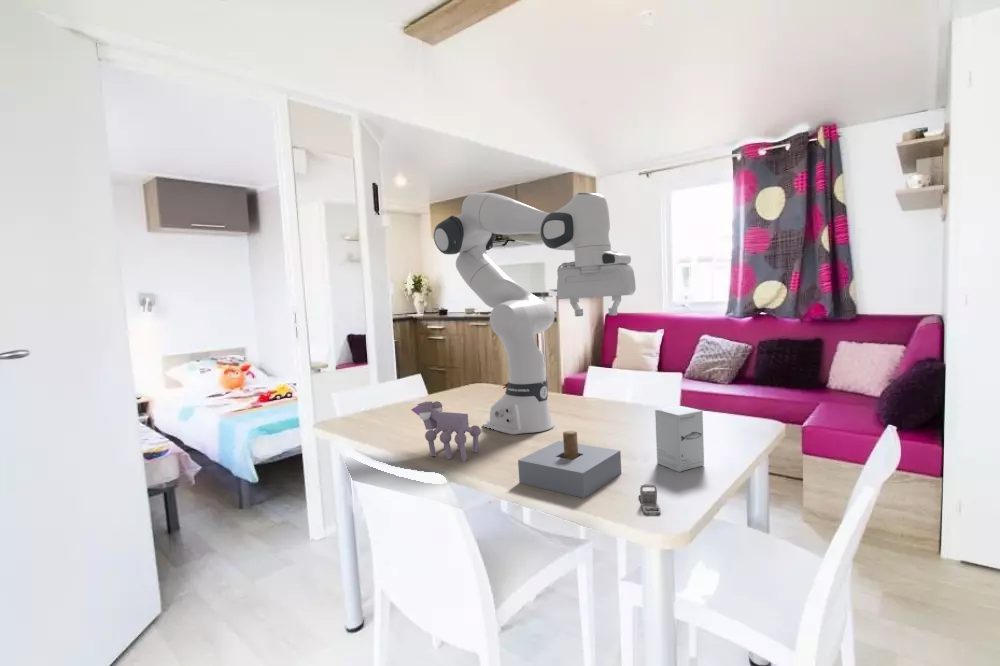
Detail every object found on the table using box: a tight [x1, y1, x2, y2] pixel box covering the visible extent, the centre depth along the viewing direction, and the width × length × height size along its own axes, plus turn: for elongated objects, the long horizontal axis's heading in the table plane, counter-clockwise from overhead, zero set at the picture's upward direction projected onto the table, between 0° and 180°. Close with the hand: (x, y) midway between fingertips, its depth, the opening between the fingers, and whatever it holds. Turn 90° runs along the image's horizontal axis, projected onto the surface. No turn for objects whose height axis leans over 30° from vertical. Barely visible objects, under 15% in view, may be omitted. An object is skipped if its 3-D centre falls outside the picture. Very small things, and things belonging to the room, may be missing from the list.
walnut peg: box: [562, 430, 579, 460], centre depth 109 cm, size 3×3×10 cm
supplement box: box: [654, 405, 705, 473], centre depth 112 cm, size 7×7×13 cm
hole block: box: [517, 440, 622, 499], centre depth 109 cm, size 16×16×5 cm
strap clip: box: [638, 483, 662, 516], centre depth 93 cm, size 8×3×4 cm, turn 172°
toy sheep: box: [410, 400, 482, 462], centre depth 133 cm, size 20×11×14 cm, turn 60°
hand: (595, 315), depth 124 cm, fingers open, 8 cm apart
